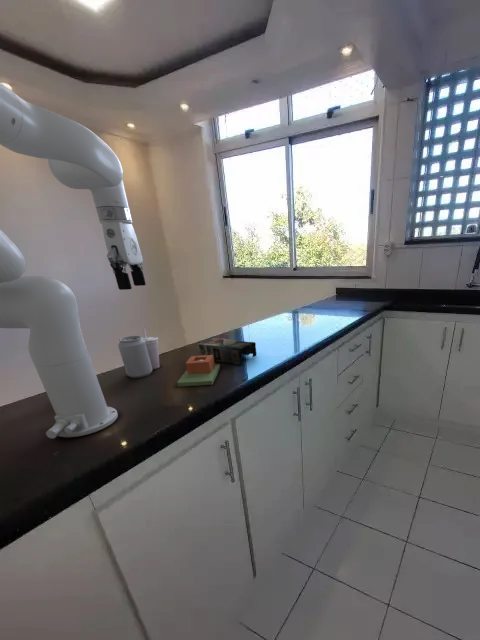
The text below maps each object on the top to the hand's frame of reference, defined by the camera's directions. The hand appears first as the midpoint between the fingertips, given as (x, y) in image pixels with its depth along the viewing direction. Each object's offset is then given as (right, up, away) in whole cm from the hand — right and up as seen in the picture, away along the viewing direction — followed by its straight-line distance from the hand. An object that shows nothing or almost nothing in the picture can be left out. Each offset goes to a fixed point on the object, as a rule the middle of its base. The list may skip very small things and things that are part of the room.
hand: (133, 287), depth 87 cm
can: (-4, -24, +12) cm, 27 cm away
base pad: (+16, -24, +9) cm, 31 cm away
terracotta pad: (+16, -22, +11) cm, 29 cm away
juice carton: (+21, -17, +24) cm, 36 cm away
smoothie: (-3, -21, +18) cm, 27 cm away
